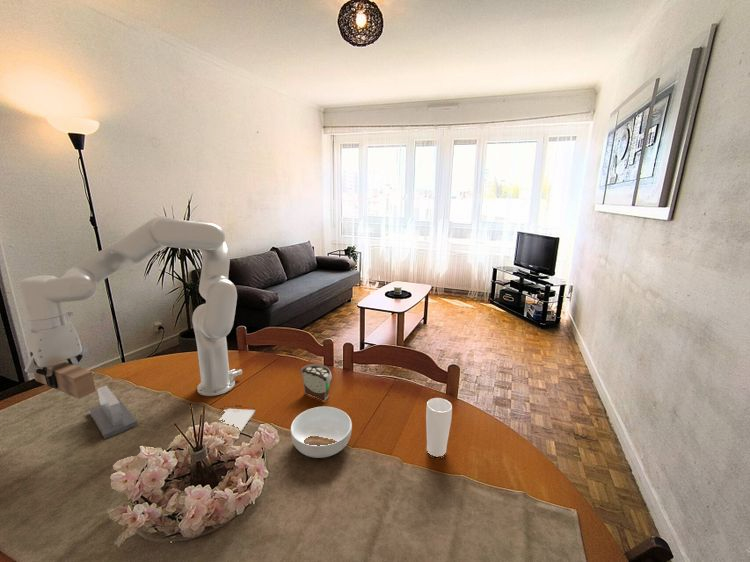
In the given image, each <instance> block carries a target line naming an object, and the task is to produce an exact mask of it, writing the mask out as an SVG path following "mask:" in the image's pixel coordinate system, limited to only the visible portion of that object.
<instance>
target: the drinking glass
mask: <svg viewBox="0 0 750 562" xmlns="http://www.w3.org/2000/svg"><path fill="white" fill-rule="evenodd" d="M425 410H426V412H425V422H426V423H425V426H426V429H425V430H426V452H427V451H428V452H427V454H428V453H429V454H430V455H433V456H436V457H438V456H443V455H444V454H445V453H446V454H447V447H448V441H449V434H450V430H451V424H452V415H453V405H452V403H451V402H450V401H448V399H445V398H441V397H433V398H430V399H429V400H428V401H427V402H426V409H425ZM429 454H428V455H429ZM446 454H445V455H446ZM430 455H429V456H430ZM443 457H444V456H443Z"/></svg>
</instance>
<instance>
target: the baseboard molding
mask: <svg viewBox="0 0 750 562" xmlns="http://www.w3.org/2000/svg"><path fill="white" fill-rule="evenodd" d="M225 407H226V405H223V407H220V410H221V411H222V412H223V411H225V413H224V414H223V415H222V417H221V418H220V419H219V420H222V419H223V421H224V420H225V422H223V423H226V424H229V425H233V424H234V426H235V427H238V428H239V430H240V431H241V433H243V431H244V429H245V428H246V426H247V425H248V424H249V422H250V421H251V419H252V417H253V416H254V415H255V413H256V409H255V408H256V407H253V409H247V408H248V407H243V406H242V405H239V409H238V408H233V406H229V405H227V407H232V408H227V409H224V408H225ZM234 407H238V404H237V405H235V406H234ZM241 408H243V409H241ZM244 408H246V409H244ZM249 420H250V421H249ZM248 421H249V422H248ZM221 422H222V421H221ZM247 423H248V424H247ZM246 424H247V425H246ZM244 427H245V428H244ZM242 430H243V431H242Z"/></svg>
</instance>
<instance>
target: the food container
mask: <svg viewBox="0 0 750 562" xmlns="http://www.w3.org/2000/svg"><path fill="white" fill-rule="evenodd" d="M300 373H301V374H302V382H303V391H304V394H305V393H307V394H310V395H312V396H315V397H317V398H319V399H321V400H324V401H326V400H327V398H328V399H329V393H330V382H331V380H332V378H333V376H332V372H331V369H330V368H329V367H328V366H326V365H323V364H308V365H305V366H303V367H301V369H300ZM327 401H328V400H327ZM327 401H326V402H327Z"/></svg>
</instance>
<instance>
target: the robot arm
mask: <svg viewBox="0 0 750 562" xmlns="http://www.w3.org/2000/svg"><path fill="white" fill-rule="evenodd" d="M166 247H168V248H175V249H183V250H185V249H186V250H198V251H200V252H201V255H202V261H201V262H202V263H201V271H200V280H199V285H198V293H199V294H200V296H201V297H202V299H204V300H205V303H203V304H200V305H198V306H197V307H196V308H195V309H194V311H193V313H192V317H191V321H192V327H193V332H194V335H195V336H194V337H195V342H196V348H197V355H198V356H197V357H198V364H199V374H200V382H199V384H198V385H197V387H196V389H197V393H198V394H199V395H201V396H205V397H214V396H215V397H216V396H219V395H222V394H225V393H227V392H229V391H231V390H232V389H234V386H235V385H236V380H235V378H236V377H237V376H240V375H242V374H244V373H243V370H242V369H236V368H233V369H231V370H230V364H229V356H228V355H229V354H228V342H227V336H228V335H229V334H230V333H231V330H232V329H233V327H234V321H235V315H236V307H237V300H238V292H237V291H238V290H237V286H235V284H234V282H232V281H231V280H230V279H229V275H230V274H229V271H230V261H231V257H230V249H229V247H228V245H227V242H226V235H225V232H224V230H223V229H222V227H220V226H219V225H218V224H215V223H212V222H209V221H204V220H198V221H193V220H184V219H179V218H174V217H170V216H165V215H159V216H156V217H153V218H151V219H150V220H148V221H146V222H145V223H143V224H141V225H140V226H138V227H137V228H136V229H134V230H133V231H131V232H129V233H128V234H126V235H124V236H123V237H121V238H119V239H118V240H117V241H115V242H113V243H111V244H109V245H107V246H106V247H104V248H103V249H101V250H99V251H97V252H95V253H94V254H92V255H90V256H89V257H87V258H85V259H84V260H82V261H80V262H79V263H77V264H76V265H75V266H72V267H71V268H69V269H68V270H66V272H64V273H63V275H62V276H61V277H56V276H55V275H49V274H47V275H45V274H44V275H35V276H29V277H26V278H23V279H22V280H21V281H20V282H19V290H20V295H21V298H22V302H23V305H24V309H25V312H26V316H27V320H28V324H29V325H28V326H29V327H30V329H29V330H28V329H27V331H26V337H25V338H26V341H25V342H26V350H27V357H28V362H27V364H26V366H25V368H24V372H25V373H29V374H33V373H38V374H42V375H45V379H46V383H47V385H48V386H47V385H46V386H47V387H50V388H53V389H54V388H55V389H54V390H57V389H56V388H58V384H57V380H56V376H55V375H54V374H53V364H55V363H58V362H61V361H66V362H67V363H70V364H72V365H75V366H78V367H79V363H80V361H81V360H82V359H83V357H84V356H85V355H86V354H87V353H88V352H89V350H90V349H89V348H88V347H86V346H85V345H82V343H81V340H80V338H79V334H78V332H77V330H76V327H74V324H73V323H72V321H70V318H72V317H74V313H73V312H72V311H69V312H68V311H67V309H66V305H65V303H68V302H69V303H73V302H75V303H77V302H83V301H84V302H85V301H88V300H90V299H92V298H94V296H95V295H96V294H97V293H98V290H99V287H98V284H100V283H102V282H103V281H105V280H106V279H107V278H109V277H110V276H113V275H114V274H115V273H117V272H120V271H123V270H126V269H131V268H134V267H137V266H139V265H141V264H143V263H144V262H146V260H148V259H149V258H151V257H152V256H154V255H155V254H157V253H158V252H160V251H161V250H163V249H164V248H166ZM36 364H37V365H38V366H39V367H41V369H40V368H35V365H36Z"/></svg>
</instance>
